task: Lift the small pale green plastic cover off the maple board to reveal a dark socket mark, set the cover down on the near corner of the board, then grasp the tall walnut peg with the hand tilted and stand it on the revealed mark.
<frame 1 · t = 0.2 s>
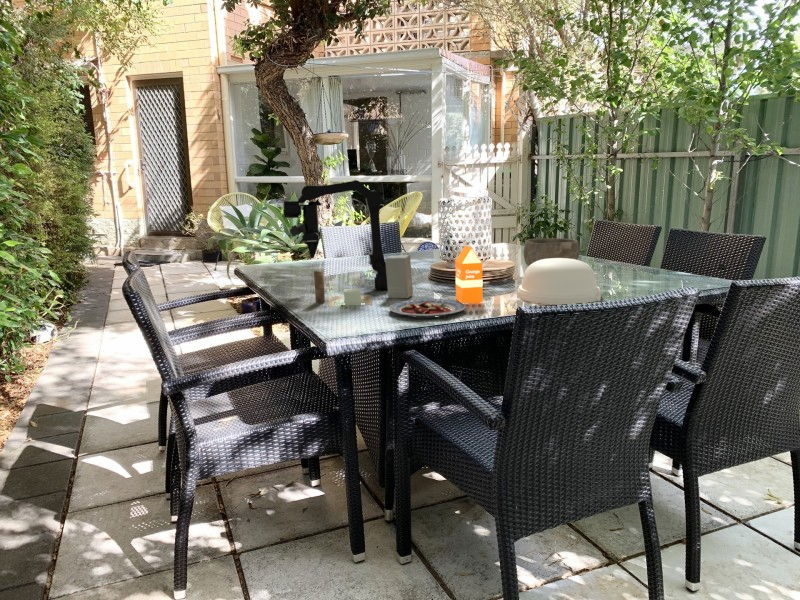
hand: (312, 256, 249), 15 cm above the table, tool pointing down, fingers open, 9 cm apart
orange juice: (468, 301, 226), on the table
skincare box: (399, 297, 238), on the table
peg: (320, 303, 230), on the table
ceramic plate: (427, 313, 211), on the table
dome cover: (558, 297, 231), on the table
cover: (352, 303, 226), resting on board
board: (350, 301, 232), on the table
bowl: (550, 273, 281), on the table
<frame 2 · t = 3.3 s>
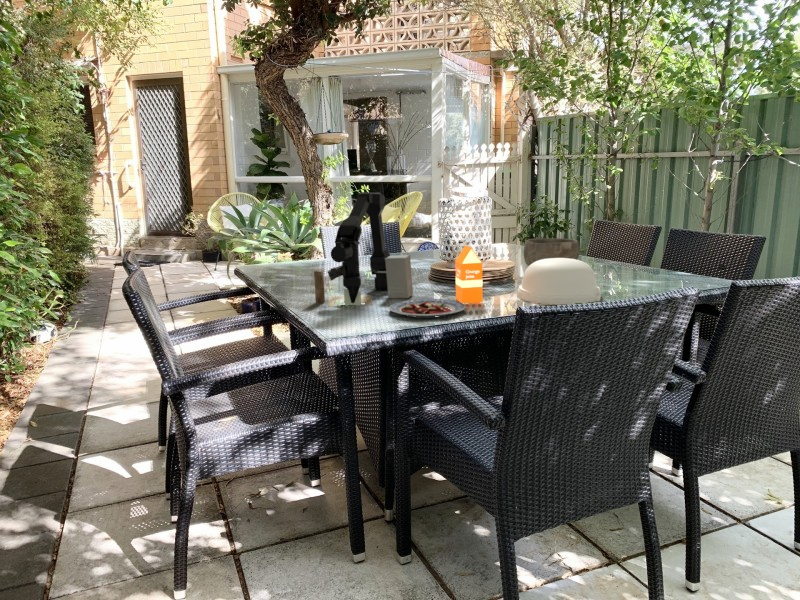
hand: (352, 301, 226), 1 cm above the table, tool pointing down, fingers closed on cover, 6 cm apart
cover: (352, 303, 227), resting on board, touching gripper
everything else where it was.
when the fingers open (2 cm above the table, at t = 7.9 s): cover drops 1 cm, resting on board.
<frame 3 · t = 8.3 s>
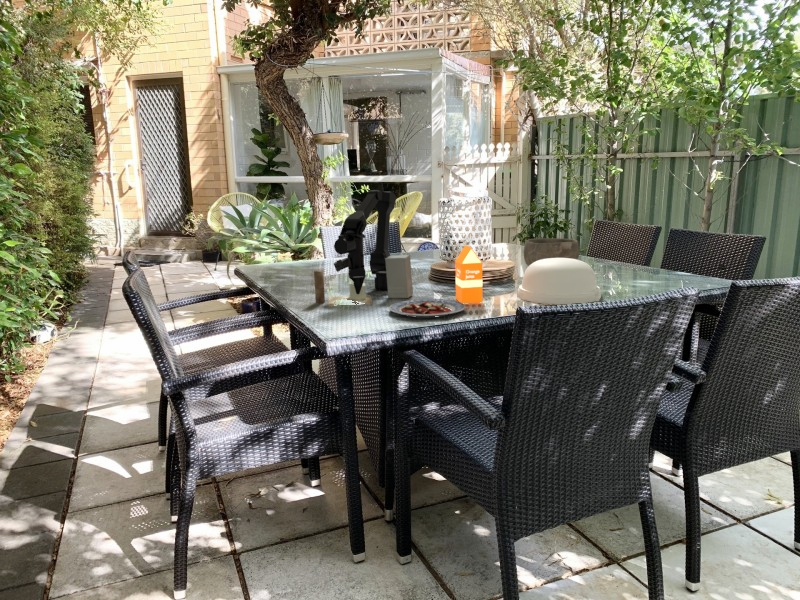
hand: (357, 291, 237), 2 cm above the table, tool pointing down, fingers open, 9 cm apart
cover: (357, 297, 237), resting on board
everything else where it was.
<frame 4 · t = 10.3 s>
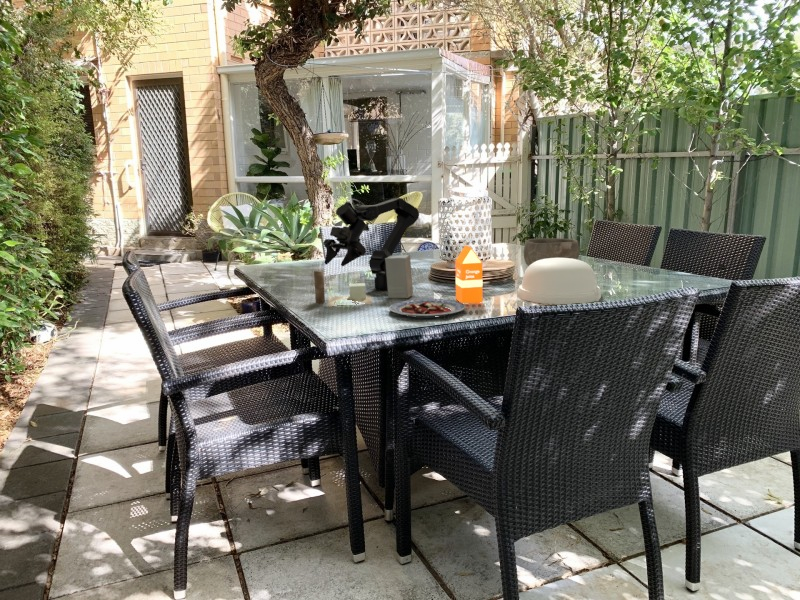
hand: (333, 264, 233), 13 cm above the table, tool tilted 45°, fingers open, 9 cm apart
nothing on the table moved.
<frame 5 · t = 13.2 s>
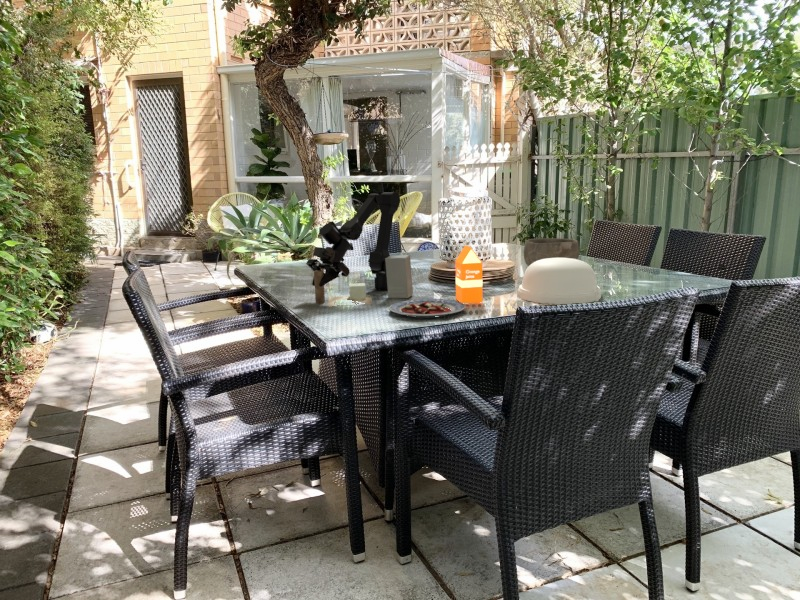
hand: (316, 285, 228), 7 cm above the table, tool tilted 45°, fingers closed on peg, 3 cm apart
peg: (320, 303, 230), on the table, touching gripper
when the fingers open (8 cm above the table, at t = 16.3 s): peg drops 1 cm, resting on board.
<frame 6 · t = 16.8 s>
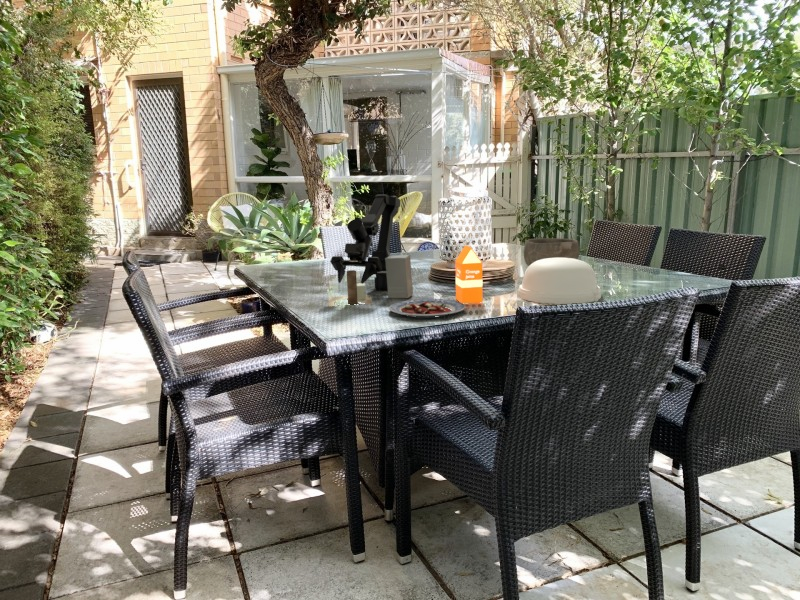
hand: (350, 282, 224), 8 cm above the table, tool tilted 45°, fingers open, 9 cm apart
peg: (352, 303, 226), resting on board
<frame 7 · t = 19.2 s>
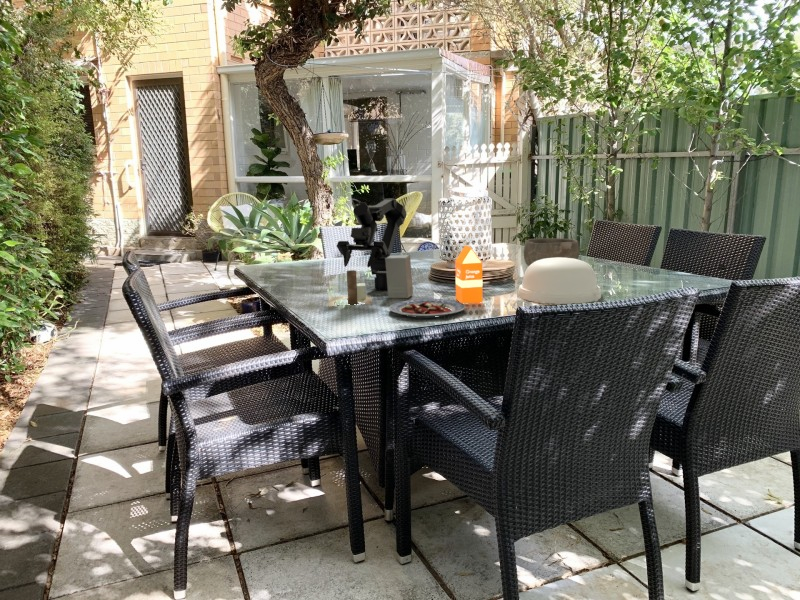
hand: (356, 266, 228), 13 cm above the table, tool tilted 45°, fingers open, 9 cm apart
at the end: cover moved 11.2 cm from its start; peg inside the target area on the board (0.0 cm from its centre), point 0.3 cm above the board's base; peg tilted 0° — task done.
